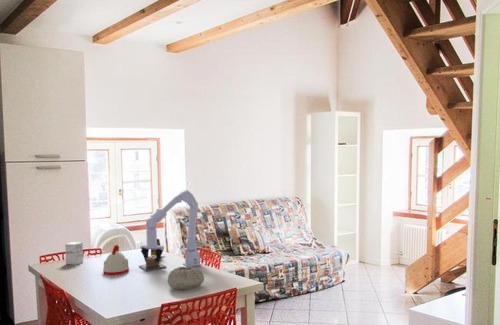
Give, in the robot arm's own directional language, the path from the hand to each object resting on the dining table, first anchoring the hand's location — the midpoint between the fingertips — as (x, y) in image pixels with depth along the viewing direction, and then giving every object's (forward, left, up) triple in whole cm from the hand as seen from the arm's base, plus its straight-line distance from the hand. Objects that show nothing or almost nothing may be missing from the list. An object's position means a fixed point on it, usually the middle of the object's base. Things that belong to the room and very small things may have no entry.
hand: (152, 261), depth 260 cm
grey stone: (-49, +1, -4) cm, 49 cm away
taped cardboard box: (0, 0, -2) cm, 2 cm away
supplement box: (+41, +35, -4) cm, 54 cm away
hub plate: (0, 0, -3) cm, 3 cm away
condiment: (+22, -11, -4) cm, 25 cm away
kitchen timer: (+4, +20, -4) cm, 21 cm away
